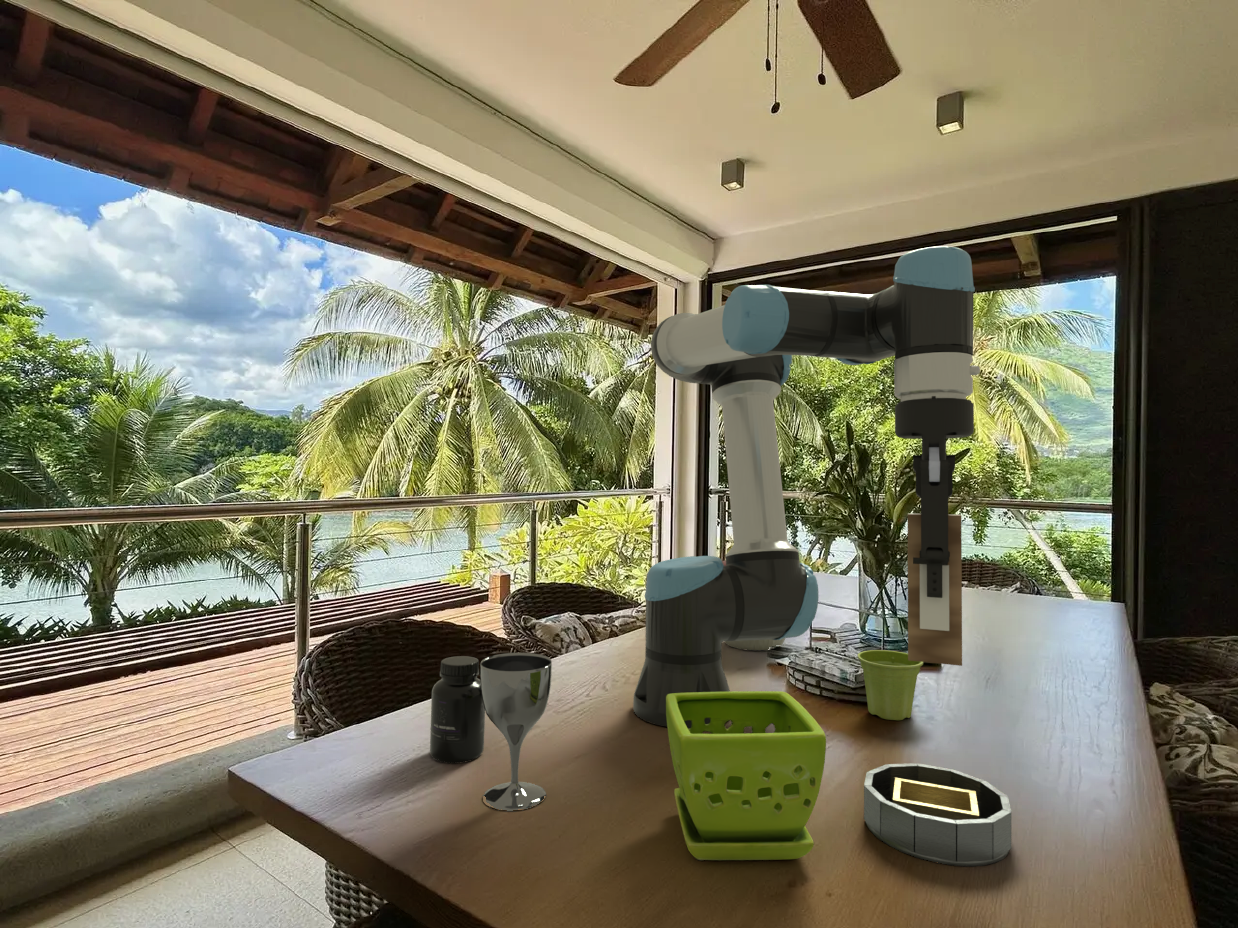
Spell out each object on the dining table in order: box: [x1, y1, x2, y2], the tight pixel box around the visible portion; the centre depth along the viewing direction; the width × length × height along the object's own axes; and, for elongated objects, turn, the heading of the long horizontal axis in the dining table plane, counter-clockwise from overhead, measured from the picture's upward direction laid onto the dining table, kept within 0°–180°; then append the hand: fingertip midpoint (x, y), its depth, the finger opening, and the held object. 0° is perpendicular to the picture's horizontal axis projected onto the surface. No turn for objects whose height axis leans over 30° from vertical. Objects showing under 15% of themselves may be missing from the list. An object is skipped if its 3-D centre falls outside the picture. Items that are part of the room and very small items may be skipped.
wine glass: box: [479, 652, 553, 812], centre depth 78 cm, size 8×8×15 cm
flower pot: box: [666, 690, 827, 861], centre depth 70 cm, size 14×14×13 cm
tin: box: [863, 762, 1012, 867], centre depth 72 cm, size 14×14×4 cm
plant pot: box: [857, 649, 924, 721], centre depth 107 cm, size 9×9×9 cm
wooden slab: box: [907, 512, 963, 667], centre depth 72 cm, size 5×3×15 cm, turn 66°
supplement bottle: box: [429, 655, 486, 764], centre depth 90 cm, size 7×7×12 cm
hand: (934, 625), depth 72 cm, fingers closed on wooden slab, 3 cm apart
